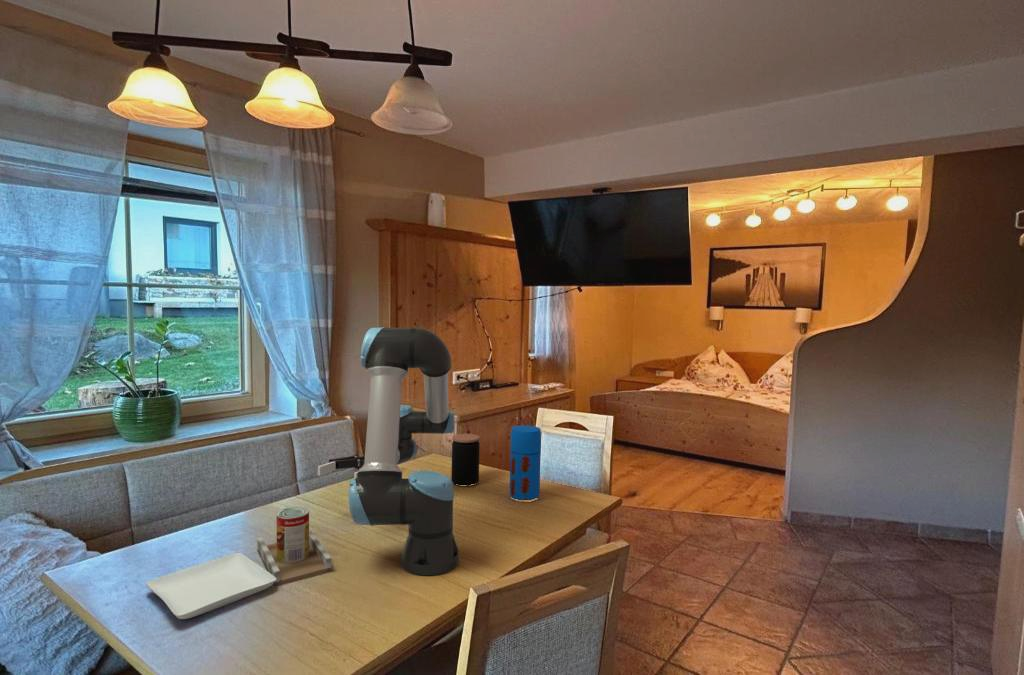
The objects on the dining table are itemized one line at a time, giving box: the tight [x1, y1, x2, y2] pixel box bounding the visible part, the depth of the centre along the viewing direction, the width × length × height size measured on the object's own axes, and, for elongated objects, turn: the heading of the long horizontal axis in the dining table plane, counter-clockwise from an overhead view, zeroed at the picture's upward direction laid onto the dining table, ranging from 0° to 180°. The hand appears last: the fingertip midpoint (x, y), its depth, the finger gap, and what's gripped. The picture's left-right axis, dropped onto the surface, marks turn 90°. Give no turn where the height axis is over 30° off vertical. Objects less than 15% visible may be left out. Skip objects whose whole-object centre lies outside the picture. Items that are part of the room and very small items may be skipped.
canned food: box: [276, 506, 310, 564], centre depth 138 cm, size 8×8×12 cm
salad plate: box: [145, 552, 276, 620], centre depth 122 cm, size 21×21×3 cm
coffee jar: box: [450, 433, 481, 485], centre depth 203 cm, size 11×11×18 cm
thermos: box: [509, 425, 542, 500], centre depth 188 cm, size 11×11×25 cm
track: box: [256, 528, 332, 587], centre depth 138 cm, size 22×13×4 cm, turn 35°
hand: (336, 474), depth 152 cm, fingers open, 13 cm apart
